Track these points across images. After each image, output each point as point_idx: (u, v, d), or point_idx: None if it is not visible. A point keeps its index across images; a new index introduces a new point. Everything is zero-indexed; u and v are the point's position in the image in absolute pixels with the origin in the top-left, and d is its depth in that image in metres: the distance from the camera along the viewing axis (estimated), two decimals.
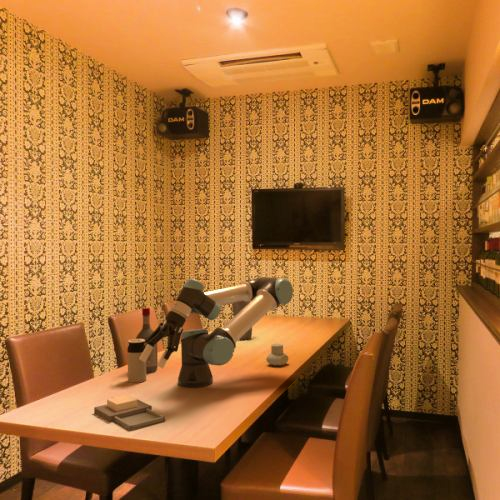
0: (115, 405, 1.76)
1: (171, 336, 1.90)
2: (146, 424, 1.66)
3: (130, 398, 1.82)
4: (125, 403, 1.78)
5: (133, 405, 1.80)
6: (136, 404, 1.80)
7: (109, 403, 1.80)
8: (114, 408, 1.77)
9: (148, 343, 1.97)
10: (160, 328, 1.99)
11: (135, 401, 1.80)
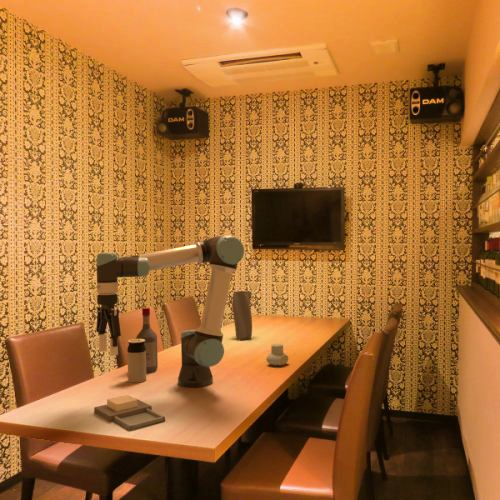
0: (115, 405, 1.76)
1: (110, 321, 1.86)
2: (146, 424, 1.66)
3: (130, 398, 1.82)
4: (125, 403, 1.78)
5: (133, 405, 1.80)
6: (136, 404, 1.80)
7: (109, 403, 1.80)
8: (114, 408, 1.77)
9: (99, 333, 1.93)
10: (100, 313, 1.93)
11: (135, 401, 1.80)
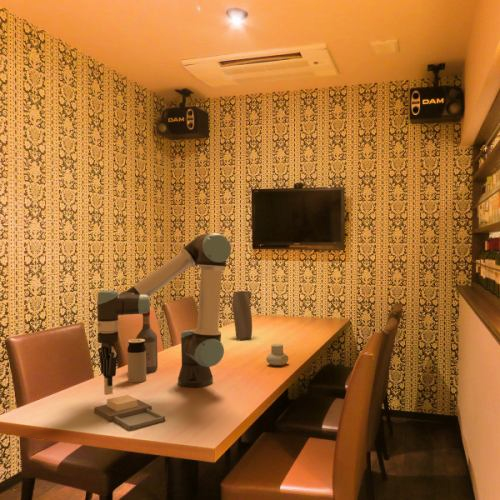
0: (115, 405, 1.76)
1: (108, 360, 1.88)
2: (146, 424, 1.66)
3: (130, 398, 1.82)
4: (125, 403, 1.78)
5: (133, 405, 1.80)
6: (136, 404, 1.80)
7: (109, 403, 1.80)
8: (114, 408, 1.77)
9: (104, 374, 1.89)
10: (102, 352, 1.92)
11: (135, 401, 1.80)
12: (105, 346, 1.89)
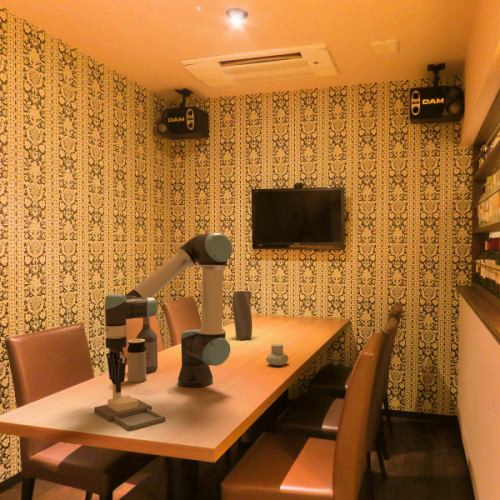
0: (115, 406, 1.76)
1: (117, 366, 1.82)
2: (146, 424, 1.66)
3: (131, 399, 1.81)
4: (125, 403, 1.77)
5: (134, 406, 1.79)
6: (137, 405, 1.80)
7: (109, 404, 1.80)
8: (114, 408, 1.76)
9: (113, 381, 1.84)
10: (110, 358, 1.87)
11: (136, 402, 1.79)
12: (113, 352, 1.83)
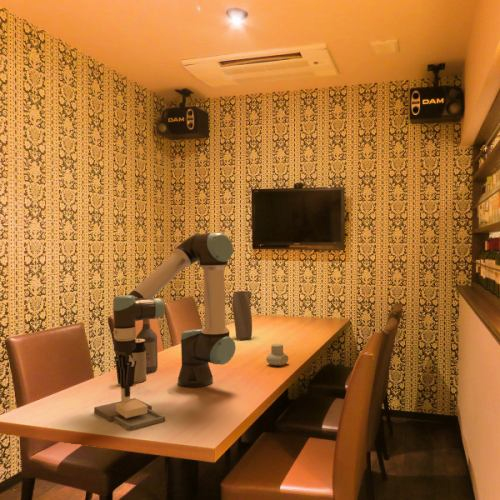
0: (124, 411, 1.70)
1: (126, 370, 1.77)
2: (146, 424, 1.66)
3: (140, 404, 1.76)
4: (134, 409, 1.71)
5: (143, 412, 1.73)
6: (146, 410, 1.74)
7: (117, 408, 1.74)
8: (123, 414, 1.71)
9: (121, 385, 1.78)
10: None
11: (145, 407, 1.74)
12: (122, 355, 1.78)
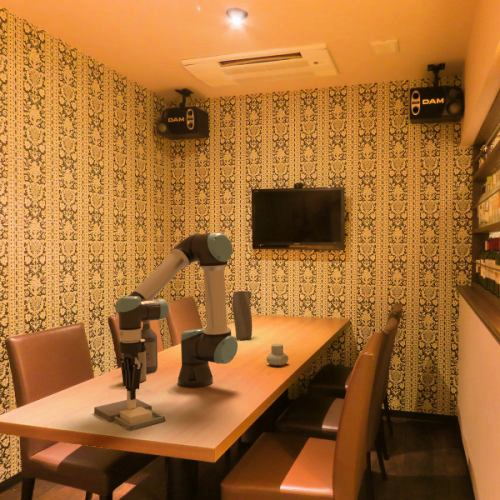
0: (129, 418, 1.67)
1: (131, 372, 1.74)
2: (146, 424, 1.66)
3: (144, 410, 1.73)
4: (139, 416, 1.69)
5: (147, 418, 1.71)
6: (151, 417, 1.71)
7: (122, 416, 1.71)
8: (128, 421, 1.68)
9: (127, 387, 1.75)
10: (123, 363, 1.78)
11: (149, 414, 1.71)
12: (128, 357, 1.74)
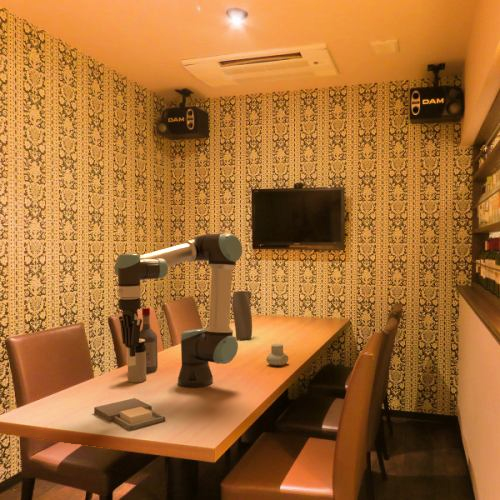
0: (129, 418, 1.67)
1: (131, 329, 1.73)
2: (146, 424, 1.66)
3: (144, 410, 1.73)
4: (139, 416, 1.69)
5: (147, 418, 1.71)
6: (151, 417, 1.71)
7: (122, 416, 1.71)
8: (128, 421, 1.68)
9: (126, 344, 1.75)
10: (123, 321, 1.78)
11: (149, 414, 1.71)
12: (127, 314, 1.74)
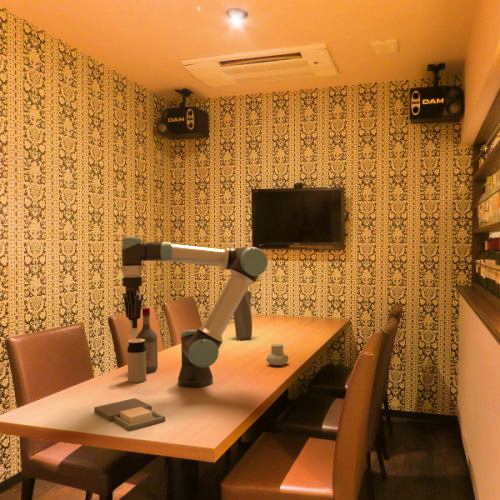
0: (129, 418, 1.67)
1: (133, 303, 1.95)
2: (146, 424, 1.66)
3: (144, 410, 1.73)
4: (139, 416, 1.69)
5: (147, 418, 1.71)
6: (151, 417, 1.71)
7: (122, 416, 1.71)
8: (128, 421, 1.68)
9: (129, 317, 1.97)
10: (126, 297, 2.00)
11: (149, 414, 1.71)
12: (130, 290, 1.96)
